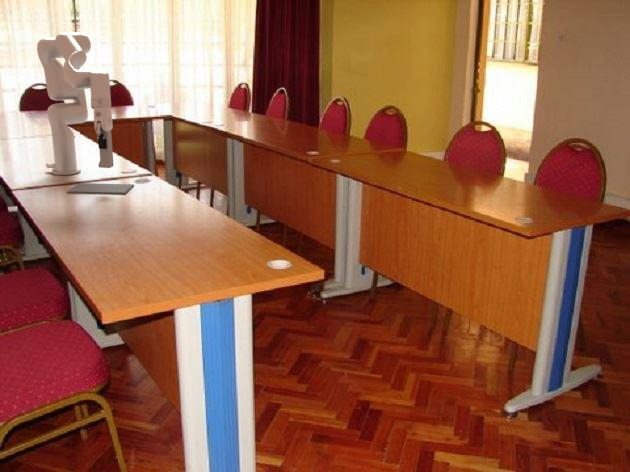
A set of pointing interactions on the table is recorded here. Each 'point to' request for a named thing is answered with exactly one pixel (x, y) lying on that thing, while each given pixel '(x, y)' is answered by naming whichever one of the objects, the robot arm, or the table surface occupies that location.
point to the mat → (101, 188)
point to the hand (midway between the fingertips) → (104, 147)
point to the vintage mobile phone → (106, 152)
